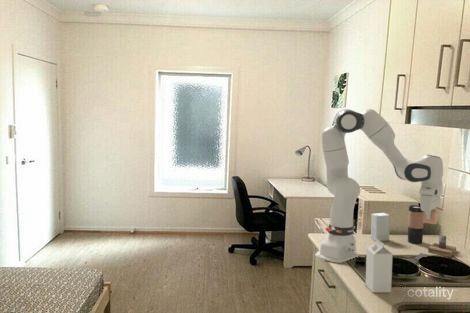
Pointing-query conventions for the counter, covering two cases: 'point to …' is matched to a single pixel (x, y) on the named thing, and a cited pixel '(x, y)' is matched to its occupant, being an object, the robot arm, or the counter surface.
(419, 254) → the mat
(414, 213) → the travel mug
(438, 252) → the post stand
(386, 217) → the skincare box
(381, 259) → the milk carton
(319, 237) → the counter surface
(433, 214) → the cap
